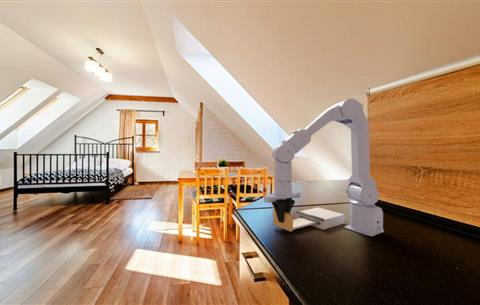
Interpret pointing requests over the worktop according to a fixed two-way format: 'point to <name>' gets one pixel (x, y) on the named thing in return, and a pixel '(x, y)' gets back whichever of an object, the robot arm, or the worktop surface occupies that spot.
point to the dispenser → (322, 217)
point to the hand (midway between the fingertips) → (282, 221)
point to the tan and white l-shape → (293, 222)
